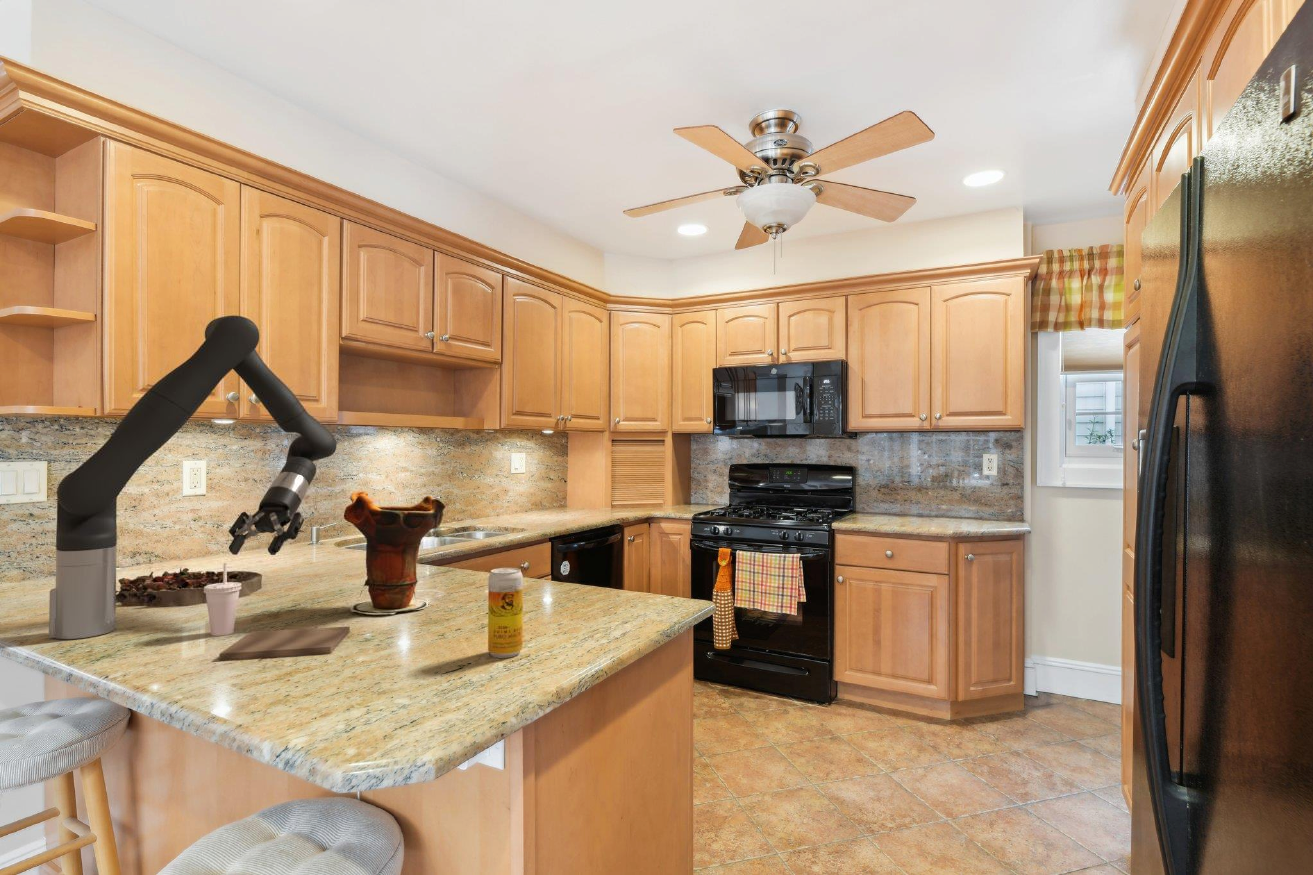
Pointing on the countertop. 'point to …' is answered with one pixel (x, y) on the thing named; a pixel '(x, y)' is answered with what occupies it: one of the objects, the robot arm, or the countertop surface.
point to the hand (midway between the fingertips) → (251, 552)
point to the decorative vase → (392, 550)
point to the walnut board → (286, 643)
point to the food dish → (181, 587)
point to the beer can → (505, 612)
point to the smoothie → (222, 605)
